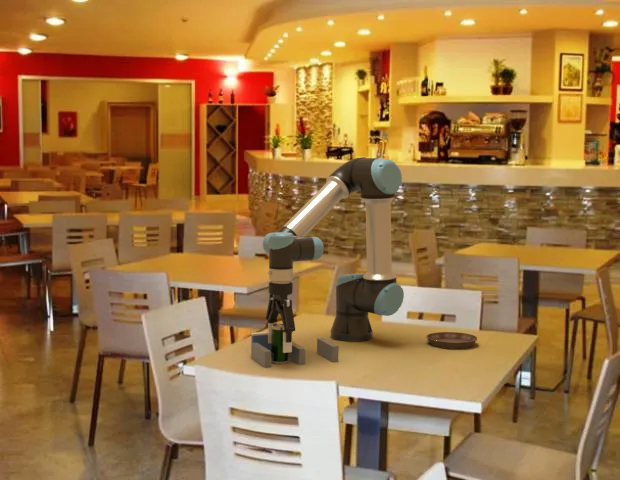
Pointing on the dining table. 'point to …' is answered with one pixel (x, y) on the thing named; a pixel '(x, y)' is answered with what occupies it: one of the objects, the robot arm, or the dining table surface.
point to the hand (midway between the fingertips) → (279, 347)
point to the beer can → (277, 345)
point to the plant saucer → (451, 339)
